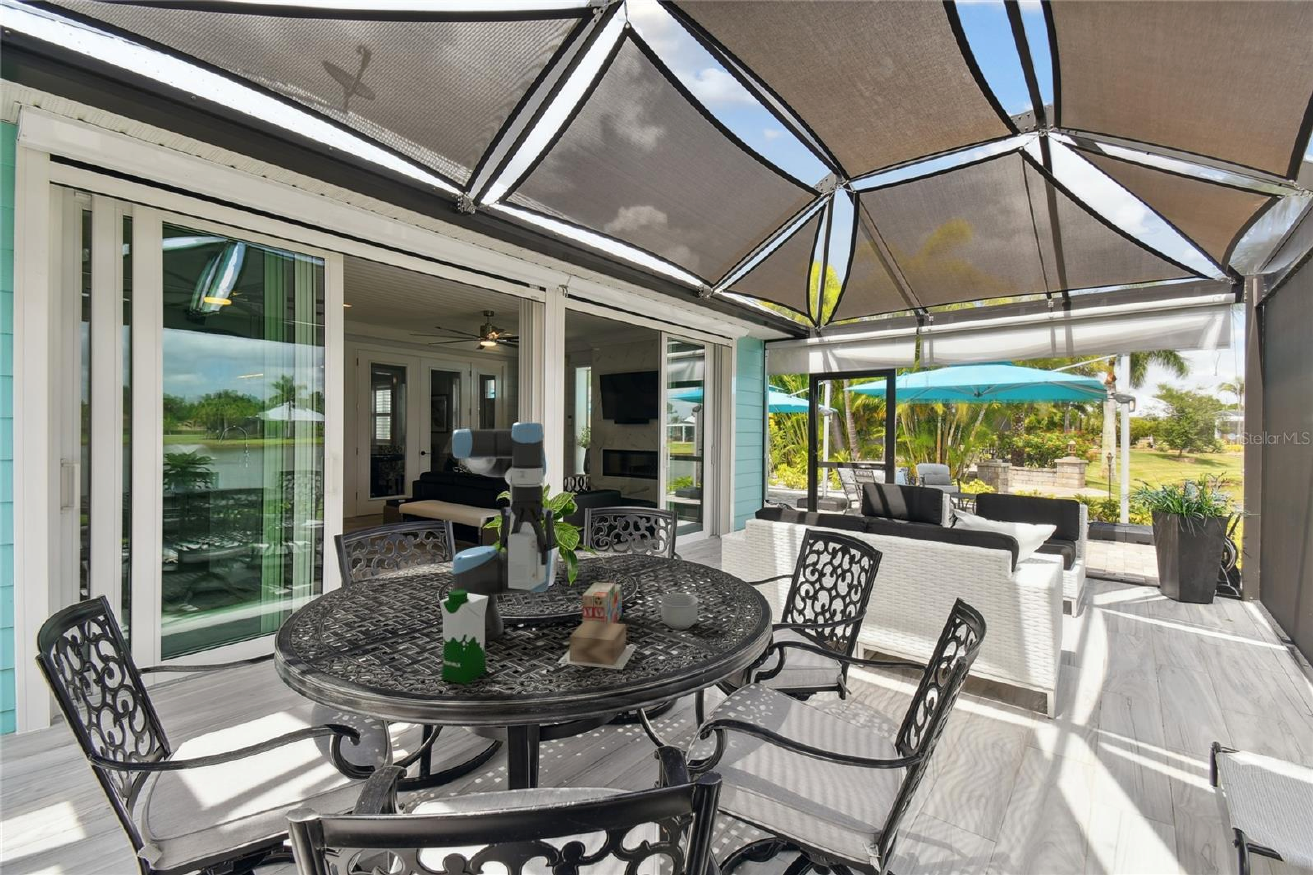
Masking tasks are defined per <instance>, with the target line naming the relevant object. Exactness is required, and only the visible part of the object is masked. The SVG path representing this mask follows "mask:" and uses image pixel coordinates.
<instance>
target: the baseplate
mask: <svg viewBox="0 0 1313 875" xmlns="http://www.w3.org/2000/svg"><path fill="white" fill-rule="evenodd" d="M637 647H638V646H637V645H635V644H633V643H631V644H629V645H627V644H626V648H625V650H624V651H623V653H622V654H621V656H620V657H619V659H618V660H617V662H616V663H615V664H614V665H604V664H594V663H584V662H574V661H570V649H568V651H567V652H565V654H564V655H563V656H561V657H560V659H559V660H558V662H557V664H566V665H575V666H587V667H595V668H596V667H597V668H604V669H614V670H615V669H616V670H623V669H624V668H625V667H626V664H627V663H628V661H629V660H630V658H631V656H632V655H633V654H634V652H635V651H636V649H637Z"/></svg>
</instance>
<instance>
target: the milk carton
mask: <svg viewBox="0 0 1313 875" xmlns="http://www.w3.org/2000/svg"><path fill="white" fill-rule="evenodd" d="M488 597H489V596H483V595H477V594H471V593H467V590H453V589H452V590H451V591H449V592H448V597H447V598H444V599H442V600H440V601H439V605H440V610H441V611H440V612H441V616H442V640H443V641H442V667H441V668H442V670H441V680H445V681H449V682H453V683H457V684H461V685H467V684H469V683H471V682H473V681H474V680H476V679H478V678H479V677H481V676H483V675H485V674H486V673H487V660H486V659H487V658H486V642H485V612H486V607H487V602H488Z"/></svg>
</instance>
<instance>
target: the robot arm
mask: <svg viewBox="0 0 1313 875" xmlns="http://www.w3.org/2000/svg"><path fill="white" fill-rule="evenodd" d="M451 437H452V438H451V439H452V441H451V442H452V443H451V445H452V446H451V447H452V450H451V451H452V455H453V457H454V458H455V459H463V460H464V462H465V465H466V466H467V467H468V469H470V470H471V471H472V472H474V473H477V474H479V475H482V476H486V477H489V478H490V477H491V478H504V480H505V482H506V483H507V484H508V485H509V506H505V507H502V508H500V510H499V511H500V516H501V521H500V522H501V524H500V535H499V547H500V548H501V549H502V548H503V549H504V551H498V549H497V547H496V546H495V545H494V546H493V545H483V546H475V547H472V548H468V549H464V550H462V551H459V552H458V553H457V554H456V555H454V556H453V558H452V568H451V574H452V591H453V590H467V593H471V594H477V595H483V596H489V597H488V602H487V607H486V612H485V643H486V642H490V641H493V640H495V639H497V638H499V637H500V636H502V635H503V634H504V621H503V617H502V615H501V612H500V610H499V606H498V596H502V595H503V596H507V595H520V594H521V595H522V594H535V593H542V592H546V591H547V590H548V588H549V585H550V577H551V567H552V555H553V554H552V553H553V550H554V549H555V548H556V536H555V524H554V523H555V522H554V516H555V513H556V510H555V509H554V508H552V509H551V508H547V507H545V505H544V503H543V502H544V501H543V500H544V487H543V485H542V484H543V483H544V477H545V476H546V474H547V460H546V453H545V448H544V437H545V436H544V426H543V424H542V423H540V422H515V423H513V424H512V428H511V429H510V428H508V429H507V428H506V429H505V428H504V429H500V428H499V429H497V428H495V429H478V428H477V429H476V428H473V429H471V428H464V429H462V428H461V429H455V430H454V431H453V432H452V436H451ZM542 514H543V517H544V526H545V528H544V529H545V530H544V529H543V526H542V519H541V516H542ZM522 530H534V532H535V535H537V542H538V545H539V548H540V552H538V553H537V579H541V578H543V577H544V576H545V565H546V581H545V582H543V583H542V584H540V585H538V586H536V587H535V588H533V589H531V590H524V589H515V588H509V587H508V536H509V535H511V534H516V533H518V532H520V531H522ZM544 531H546V538H545V535H544Z"/></svg>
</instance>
